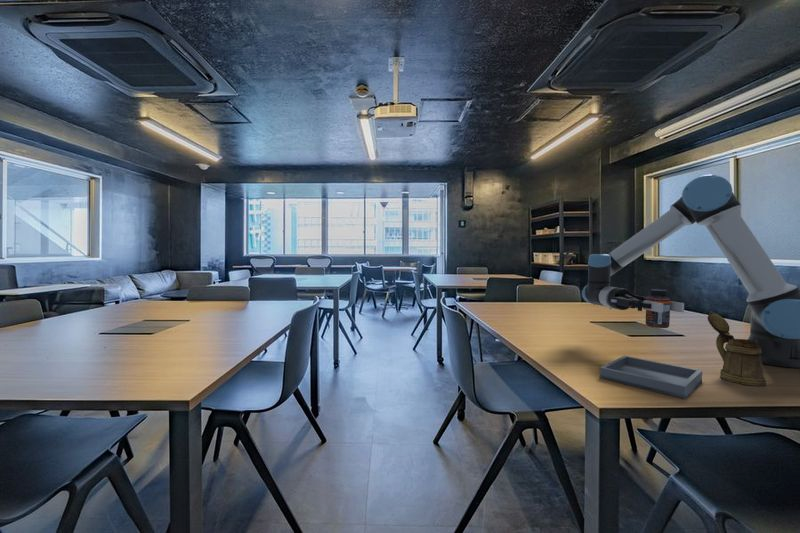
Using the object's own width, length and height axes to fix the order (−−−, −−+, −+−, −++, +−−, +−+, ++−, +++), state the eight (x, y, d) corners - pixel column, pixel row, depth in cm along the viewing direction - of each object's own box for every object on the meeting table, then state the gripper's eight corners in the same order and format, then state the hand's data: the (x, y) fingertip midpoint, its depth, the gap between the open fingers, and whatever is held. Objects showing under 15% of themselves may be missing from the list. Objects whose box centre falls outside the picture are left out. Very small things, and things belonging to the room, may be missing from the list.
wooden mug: (720, 369, 108) (721, 310, 107) (775, 385, 95) (777, 318, 94) (696, 371, 106) (698, 311, 106) (748, 387, 93) (751, 319, 92)
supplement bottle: (640, 324, 111) (641, 288, 111) (659, 324, 111) (660, 288, 111) (655, 328, 105) (656, 290, 105) (674, 328, 105) (675, 290, 105)
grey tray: (702, 381, 97) (702, 370, 97) (684, 399, 85) (685, 386, 85) (624, 364, 112) (624, 355, 112) (599, 378, 100) (599, 367, 99)
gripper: (640, 308, 127) (701, 320, 104) (591, 308, 125) (641, 321, 102) (641, 287, 127) (702, 294, 104) (591, 287, 125) (642, 295, 102)
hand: (672, 307), depth 103 cm, fingers closed on supplement bottle, 6 cm apart
